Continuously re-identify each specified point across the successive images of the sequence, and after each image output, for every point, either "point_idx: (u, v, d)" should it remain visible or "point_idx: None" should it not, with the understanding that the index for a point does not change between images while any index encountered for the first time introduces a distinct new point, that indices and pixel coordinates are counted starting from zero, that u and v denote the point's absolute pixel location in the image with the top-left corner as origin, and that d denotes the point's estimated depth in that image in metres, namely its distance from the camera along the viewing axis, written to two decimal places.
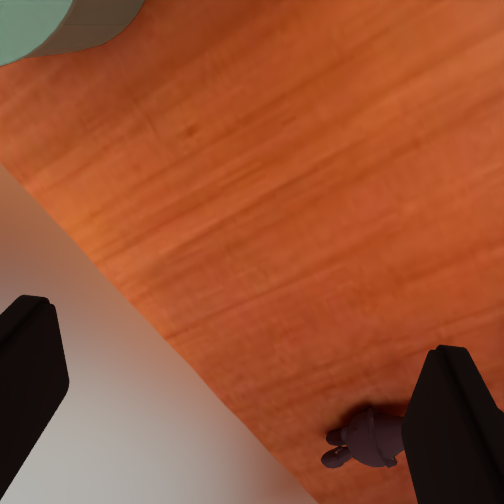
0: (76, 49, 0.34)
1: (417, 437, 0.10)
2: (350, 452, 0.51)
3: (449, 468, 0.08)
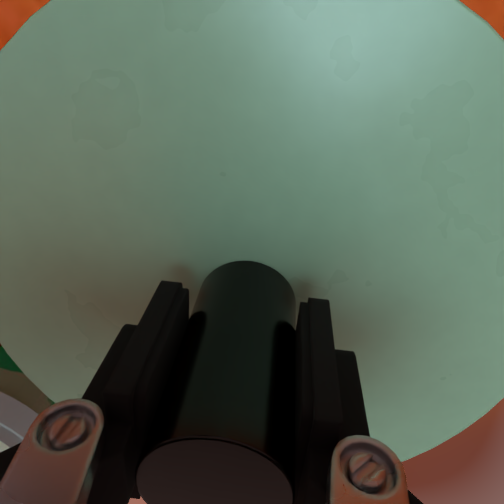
0: None
1: None
2: None
3: (295, 397, 0.09)
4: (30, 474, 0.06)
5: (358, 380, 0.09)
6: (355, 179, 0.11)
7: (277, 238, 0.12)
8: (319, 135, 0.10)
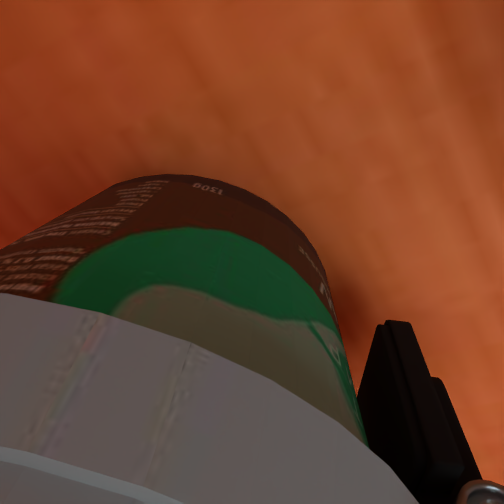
0: None
1: (366, 406, 0.10)
2: None
3: (386, 429, 0.09)
4: None
5: (453, 411, 0.09)
6: None
7: None
8: None
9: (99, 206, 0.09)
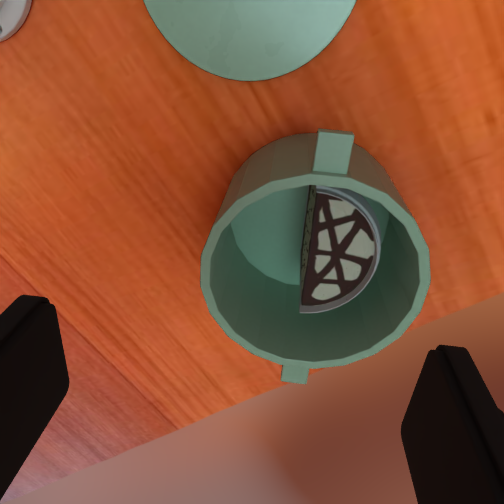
0: None
1: (416, 437, 0.10)
2: None
3: (449, 468, 0.08)
4: None
5: None
6: None
7: None
8: None
9: None
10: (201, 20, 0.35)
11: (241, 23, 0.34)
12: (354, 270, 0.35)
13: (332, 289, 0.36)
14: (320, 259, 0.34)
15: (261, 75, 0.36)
